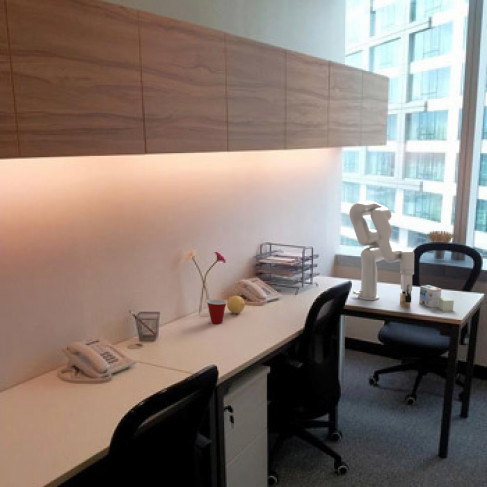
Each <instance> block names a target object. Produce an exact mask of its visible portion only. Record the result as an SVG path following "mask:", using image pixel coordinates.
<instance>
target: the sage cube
mask: <svg viewBox="0 0 487 487" xmlns="http://www.w3.org/2000/svg"><path fill="white" fill-rule="evenodd" d="M454 303H455V301H454V299H452V298H450V297H441V298H439V304H438V307H437V308H438V309H440V310H441V311H442V310H443V312H445V311H448V310H449V311H450V310H453V311H454ZM449 311H448V312H449Z"/></svg>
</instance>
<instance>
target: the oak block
mask: <svg viewBox="0 0 487 487" xmlns="http://www.w3.org/2000/svg"><path fill="white" fill-rule="evenodd" d="M405 296H406V293H402V292H400V294H399V306H400V307H401V308H411V303H409V302H405Z"/></svg>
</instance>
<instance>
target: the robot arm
mask: <svg viewBox="0 0 487 487" xmlns="http://www.w3.org/2000/svg"><path fill="white" fill-rule="evenodd" d="M348 213H349V220H350V222H351V224H352V227H353V230H354V233H355V237H356V240H357V243H358V244H359V245H360V246H362V247H366V248H364V249H363V250H361V252H360V263H361V276H360V277H361V278H360V279H361V282H360V284H361V286H360V289H359V290H353V291H352V294H354V295H357V297H358V299H360V300H364V301H376V300H379V299H380V296H379V295H378V294H377V292H378V290H377V289H378V265H377V263H378V262H380V261H383V260H384V261H385V262H386V263H387V264H388V263H389V264H392V263H396V262H400V266H399V267H400V271H399V272H400V275H401V277H400V289H401V293H406V296H405V302H409V303H410V304H411V303H412V291H413V275H415V252H414V250H411V249H403V248H399V247H398V248H393V247H391V242H390V237H391V235H392V233H393V228H392V226H391V223H390V222H389V220H391V218H392V212H391V210H390V209H389V208H387V207H386V206H384V205H381V204H379V203H377V202H374V201H373V200H372V201H371V200H367V201H366V200H365V201H358V202H356V203H354V204H353V205H352V206H351V207H350V209H349V212H348ZM364 216H370V219H371V221H372V224H373V226H374V228H375V229H370V228H369V226H368V222H367V221H366V219H365V218H364Z"/></svg>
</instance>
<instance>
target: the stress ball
mask: <svg viewBox="0 0 487 487" xmlns="http://www.w3.org/2000/svg"><path fill="white" fill-rule="evenodd" d="M245 306H246V305H245V300H244V298H243V297H242V296H239V295H233V296H231V297H229V298H228V300H227V303H226V307H227V309H228V310H229V312H230V313H232V314H234V315H238V314H239V313H241V312H243V310H244V309H245Z"/></svg>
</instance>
